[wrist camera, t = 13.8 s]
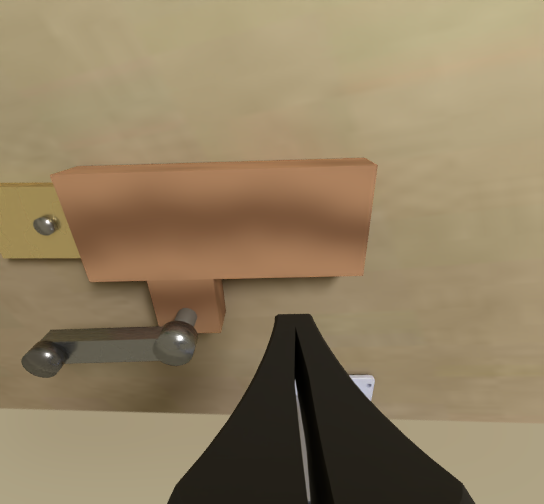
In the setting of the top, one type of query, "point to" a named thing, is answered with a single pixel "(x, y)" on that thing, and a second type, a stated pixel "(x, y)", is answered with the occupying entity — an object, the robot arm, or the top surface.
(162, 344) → the lever
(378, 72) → the top surface
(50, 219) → the wooden block with bolt
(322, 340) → the robot arm
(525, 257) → the top surface
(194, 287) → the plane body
